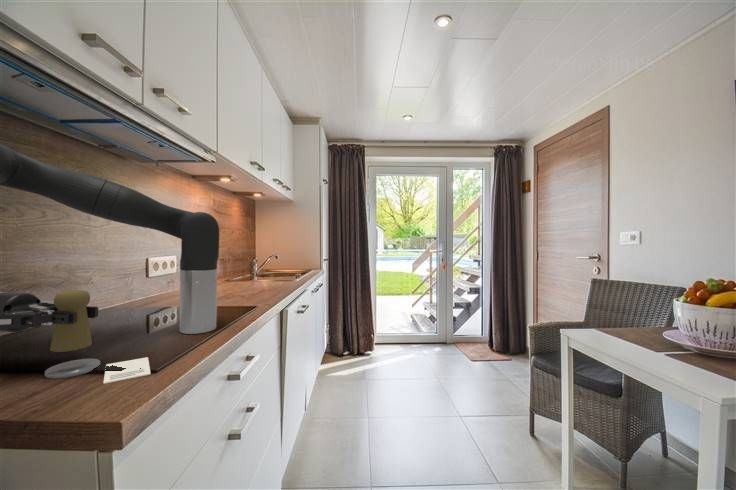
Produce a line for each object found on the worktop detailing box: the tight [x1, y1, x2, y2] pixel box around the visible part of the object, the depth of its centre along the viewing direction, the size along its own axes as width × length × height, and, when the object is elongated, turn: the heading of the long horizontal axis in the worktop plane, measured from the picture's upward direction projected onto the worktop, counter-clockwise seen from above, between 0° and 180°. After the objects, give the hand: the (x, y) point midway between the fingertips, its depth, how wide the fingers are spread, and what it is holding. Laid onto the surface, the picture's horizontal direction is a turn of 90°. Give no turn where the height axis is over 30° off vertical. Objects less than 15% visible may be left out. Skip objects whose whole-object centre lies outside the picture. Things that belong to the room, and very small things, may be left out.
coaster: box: [44, 358, 101, 379], centre depth 62 cm, size 8×8×1 cm
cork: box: [49, 289, 93, 353], centre depth 62 cm, size 6×6×11 cm
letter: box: [102, 357, 152, 385], centre depth 63 cm, size 10×7×1 cm
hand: (86, 315), depth 62 cm, fingers closed on cork, 4 cm apart
